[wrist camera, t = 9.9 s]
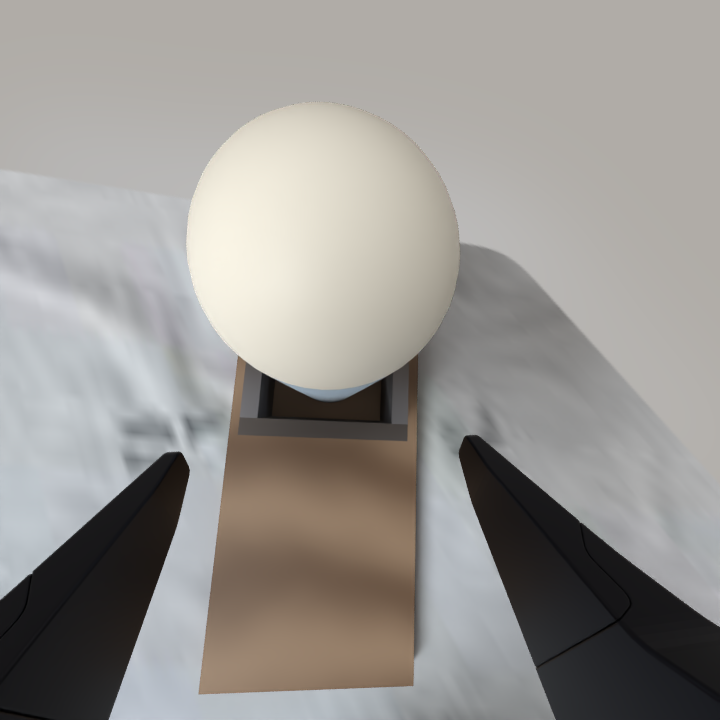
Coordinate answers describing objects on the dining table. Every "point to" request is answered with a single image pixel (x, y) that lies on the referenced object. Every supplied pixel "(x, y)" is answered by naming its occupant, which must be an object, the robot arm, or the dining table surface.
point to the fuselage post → (323, 247)
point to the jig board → (315, 540)
